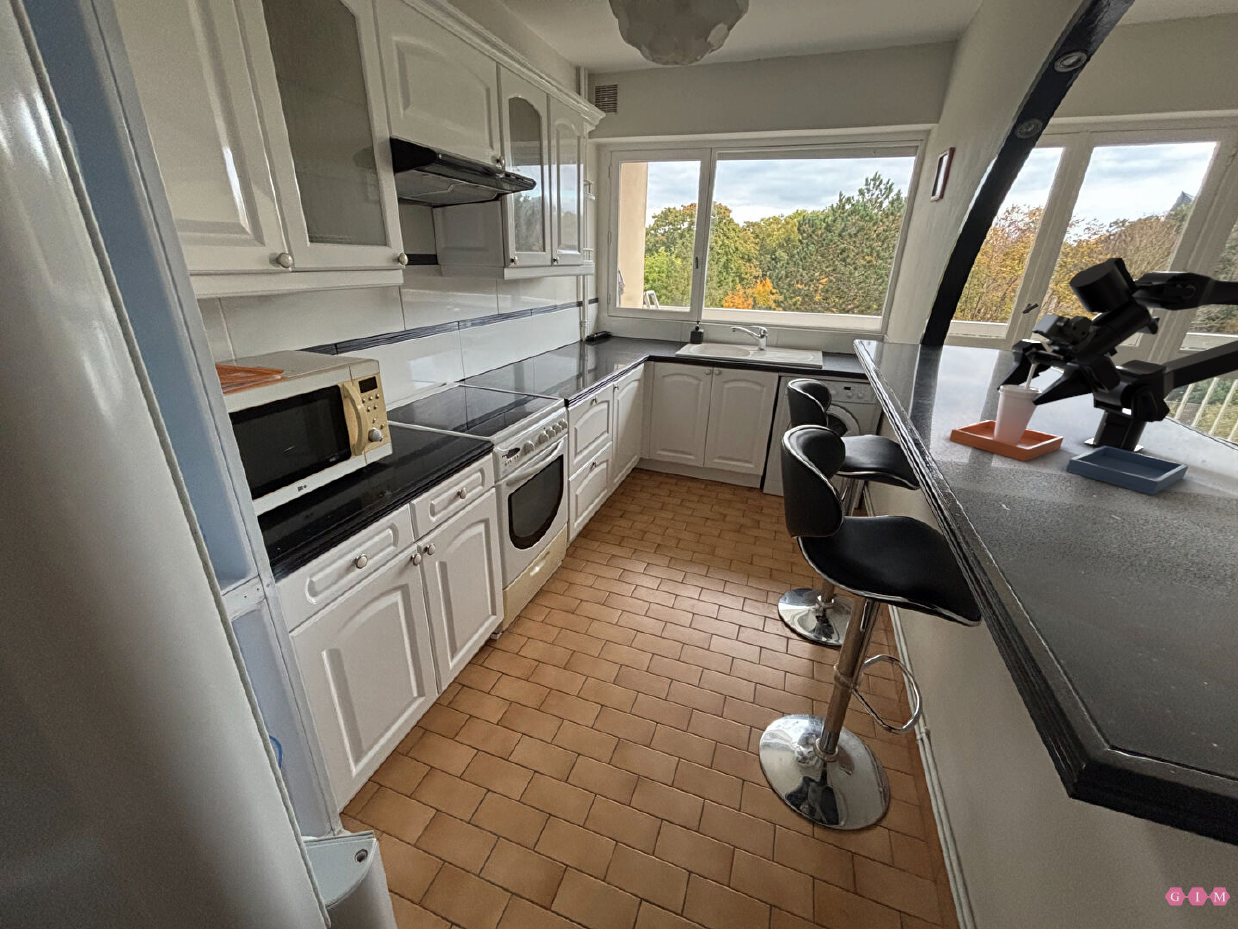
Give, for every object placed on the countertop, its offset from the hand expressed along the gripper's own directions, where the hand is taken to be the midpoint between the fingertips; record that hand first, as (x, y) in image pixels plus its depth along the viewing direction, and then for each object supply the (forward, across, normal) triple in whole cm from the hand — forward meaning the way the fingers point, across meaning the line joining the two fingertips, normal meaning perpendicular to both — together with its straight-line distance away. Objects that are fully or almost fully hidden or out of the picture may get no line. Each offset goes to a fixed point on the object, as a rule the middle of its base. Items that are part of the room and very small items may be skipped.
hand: (1015, 396), depth 89 cm
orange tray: (+6, 0, +7) cm, 9 cm away
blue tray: (-1, +13, +14) cm, 19 cm away
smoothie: (+5, 0, +6) cm, 8 cm away
